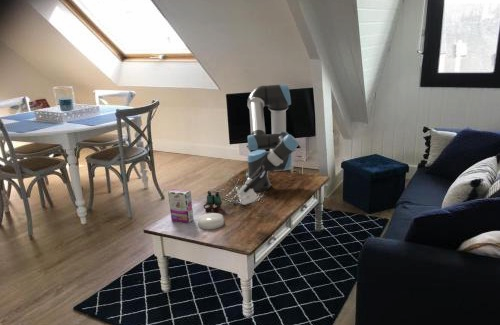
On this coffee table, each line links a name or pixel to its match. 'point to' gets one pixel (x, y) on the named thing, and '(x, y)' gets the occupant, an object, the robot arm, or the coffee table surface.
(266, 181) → the robot arm
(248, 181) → the white creature statuette
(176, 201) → the candy bar box
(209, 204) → the green bottle cruet set
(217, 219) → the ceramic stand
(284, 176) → the coffee table surface
